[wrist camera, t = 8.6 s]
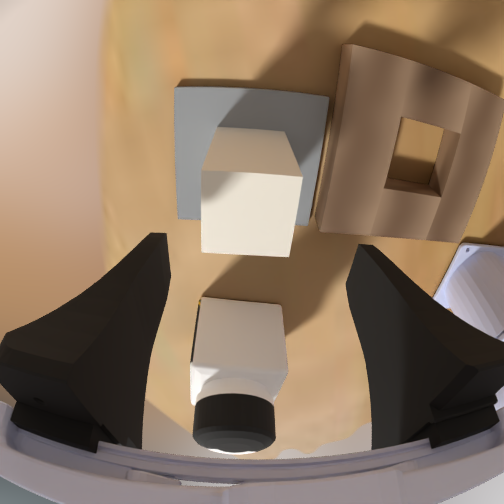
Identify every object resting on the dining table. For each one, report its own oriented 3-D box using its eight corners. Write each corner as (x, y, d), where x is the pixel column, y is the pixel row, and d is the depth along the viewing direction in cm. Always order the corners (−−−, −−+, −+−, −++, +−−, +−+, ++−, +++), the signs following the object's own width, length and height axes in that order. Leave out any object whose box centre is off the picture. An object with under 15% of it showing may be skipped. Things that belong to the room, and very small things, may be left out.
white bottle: (199, 294, 26) (182, 427, 17) (282, 302, 27) (295, 433, 17) (197, 343, 31) (185, 455, 21) (267, 350, 31) (272, 460, 22)
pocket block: (489, 93, 15) (506, 100, 14) (447, 229, 22) (458, 243, 21) (342, 44, 15) (352, 44, 13) (314, 216, 22) (320, 232, 20)
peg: (284, 131, 18) (302, 176, 12) (276, 190, 20) (288, 257, 14) (217, 126, 17) (201, 170, 12) (215, 186, 20) (201, 252, 14)
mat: (327, 96, 17) (329, 97, 16) (306, 222, 22) (307, 225, 22) (176, 86, 16) (174, 87, 16) (179, 215, 22) (178, 219, 21)
